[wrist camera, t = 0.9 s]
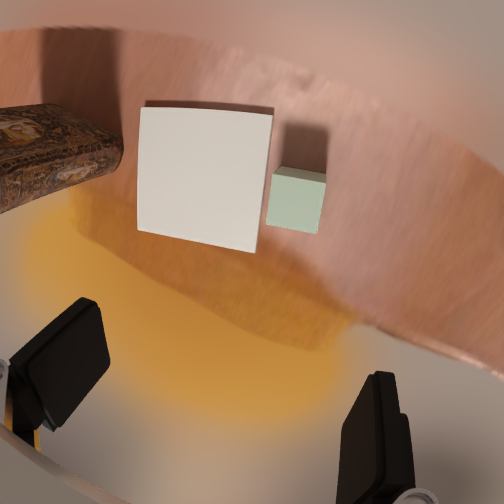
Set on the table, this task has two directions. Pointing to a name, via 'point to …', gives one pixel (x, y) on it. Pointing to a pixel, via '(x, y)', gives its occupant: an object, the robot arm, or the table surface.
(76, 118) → the book
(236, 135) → the pale board
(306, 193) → the block
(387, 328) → the table surface
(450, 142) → the table surface
